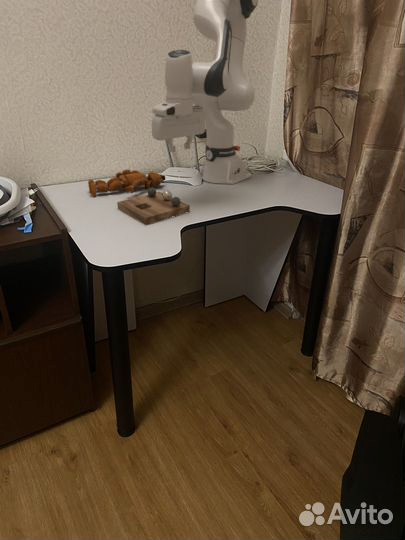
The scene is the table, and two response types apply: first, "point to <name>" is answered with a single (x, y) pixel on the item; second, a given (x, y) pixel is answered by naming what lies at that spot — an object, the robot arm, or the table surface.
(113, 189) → the toy
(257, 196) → the table surface
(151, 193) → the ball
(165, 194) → the steel ball
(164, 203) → the wooden board with hole
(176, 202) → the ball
